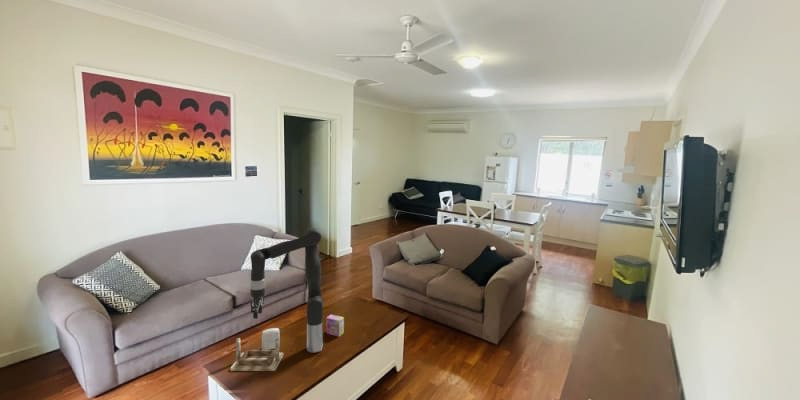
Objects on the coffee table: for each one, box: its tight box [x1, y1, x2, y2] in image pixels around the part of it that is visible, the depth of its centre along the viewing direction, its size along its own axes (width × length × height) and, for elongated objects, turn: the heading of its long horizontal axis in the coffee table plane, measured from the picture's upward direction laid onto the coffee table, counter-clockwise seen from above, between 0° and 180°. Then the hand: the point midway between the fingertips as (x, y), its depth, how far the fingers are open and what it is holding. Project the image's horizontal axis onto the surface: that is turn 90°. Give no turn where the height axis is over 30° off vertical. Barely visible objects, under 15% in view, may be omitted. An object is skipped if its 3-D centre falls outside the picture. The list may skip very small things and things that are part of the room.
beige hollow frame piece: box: [230, 337, 284, 372], centre depth 185 cm, size 24×15×14 cm, turn 93°
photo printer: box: [261, 327, 281, 350], centre depth 200 cm, size 10×4×12 cm, turn 116°
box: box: [325, 314, 345, 338], centre depth 219 cm, size 10×6×12 cm, turn 68°
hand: (257, 315), depth 183 cm, fingers open, 5 cm apart
